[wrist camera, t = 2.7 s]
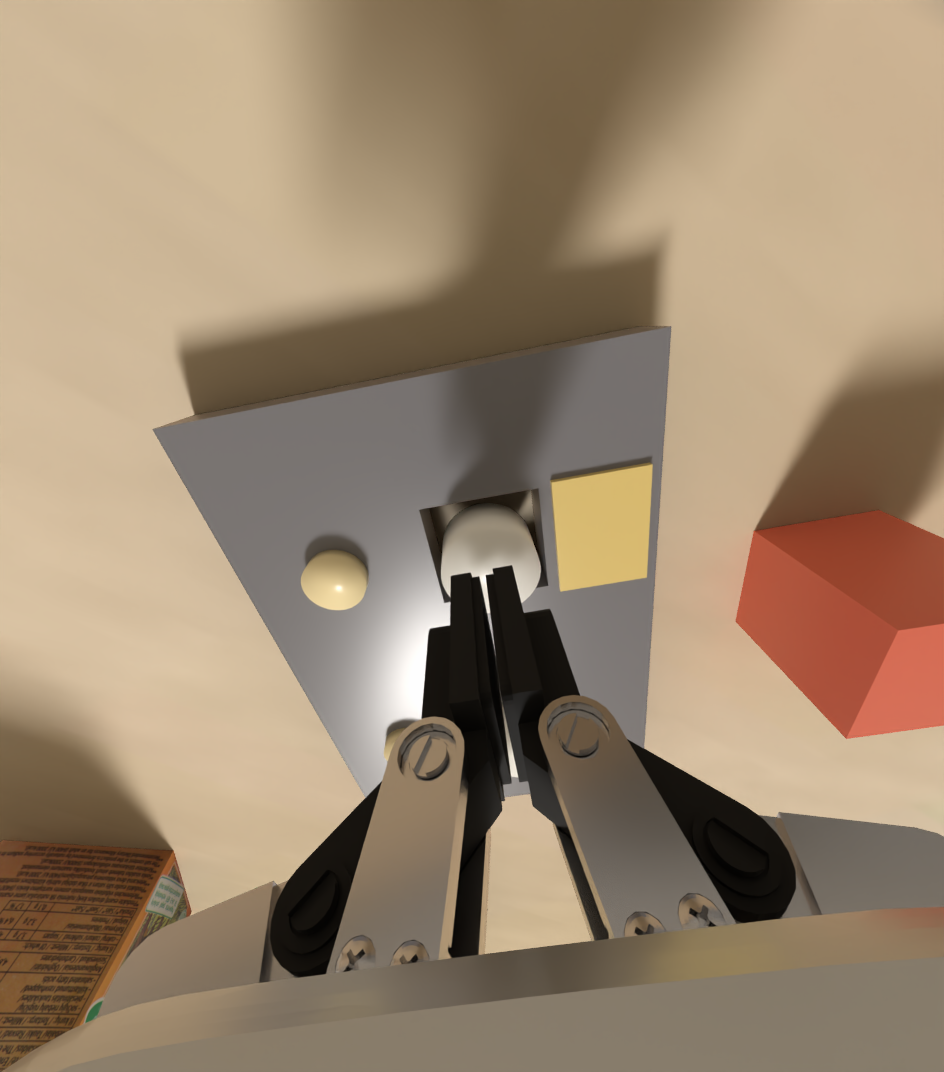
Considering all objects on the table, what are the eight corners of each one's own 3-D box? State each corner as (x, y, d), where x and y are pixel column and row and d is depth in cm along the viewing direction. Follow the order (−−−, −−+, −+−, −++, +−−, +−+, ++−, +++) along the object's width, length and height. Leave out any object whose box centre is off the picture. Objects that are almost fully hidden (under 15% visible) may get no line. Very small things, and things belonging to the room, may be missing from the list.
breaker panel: (640, 326, 12) (682, 326, 10) (627, 743, 23) (646, 790, 20) (193, 415, 13) (137, 434, 11) (381, 778, 24) (373, 826, 21)
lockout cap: (877, 509, 16) (1088, 601, 10) (842, 604, 18) (1000, 717, 13) (753, 530, 16) (898, 630, 11) (734, 620, 18) (846, 738, 13)
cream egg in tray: (525, 495, 13) (535, 521, 11) (534, 571, 15) (545, 604, 13) (434, 511, 13) (431, 540, 12) (452, 585, 15) (451, 619, 13)
